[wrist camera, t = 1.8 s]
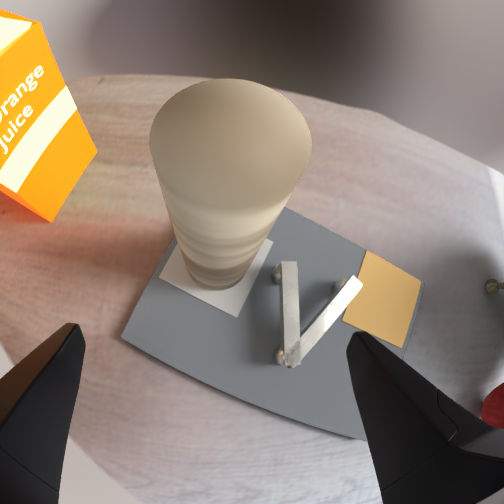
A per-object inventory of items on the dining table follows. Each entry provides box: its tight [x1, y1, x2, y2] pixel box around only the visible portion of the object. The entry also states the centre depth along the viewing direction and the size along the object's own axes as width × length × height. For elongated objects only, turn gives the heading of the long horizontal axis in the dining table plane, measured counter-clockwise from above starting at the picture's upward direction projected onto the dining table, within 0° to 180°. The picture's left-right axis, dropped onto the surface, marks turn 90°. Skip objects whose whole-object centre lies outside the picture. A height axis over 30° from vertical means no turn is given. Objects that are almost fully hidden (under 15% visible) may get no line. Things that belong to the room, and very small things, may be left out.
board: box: [121, 207, 425, 441], centre depth 21 cm, size 14×20×1 cm
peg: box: [150, 79, 312, 291], centre depth 14 cm, size 4×4×14 cm
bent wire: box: [271, 259, 363, 368], centre depth 20 cm, size 7×6×2 cm
